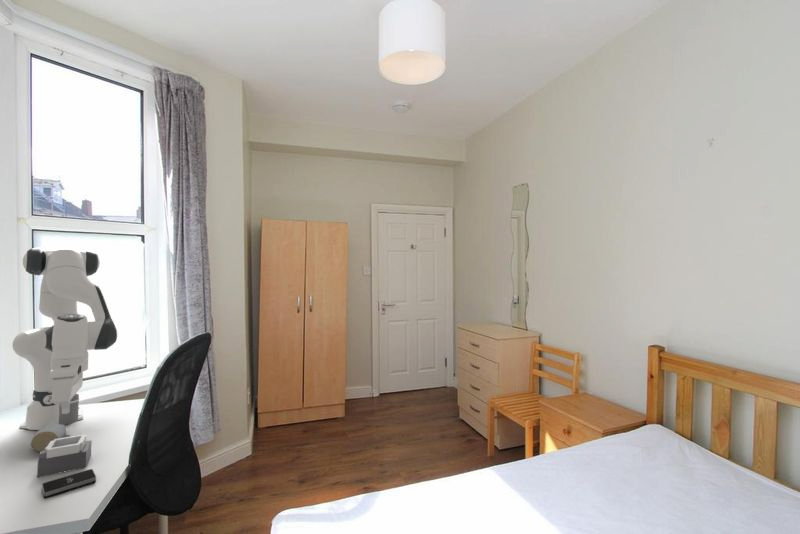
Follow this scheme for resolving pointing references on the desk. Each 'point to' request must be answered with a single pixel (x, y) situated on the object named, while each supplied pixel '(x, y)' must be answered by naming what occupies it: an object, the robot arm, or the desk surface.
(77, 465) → the camera body
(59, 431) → the ceramic mug
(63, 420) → the lens
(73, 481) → the external hard drive
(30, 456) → the desk surface
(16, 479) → the desk surface
